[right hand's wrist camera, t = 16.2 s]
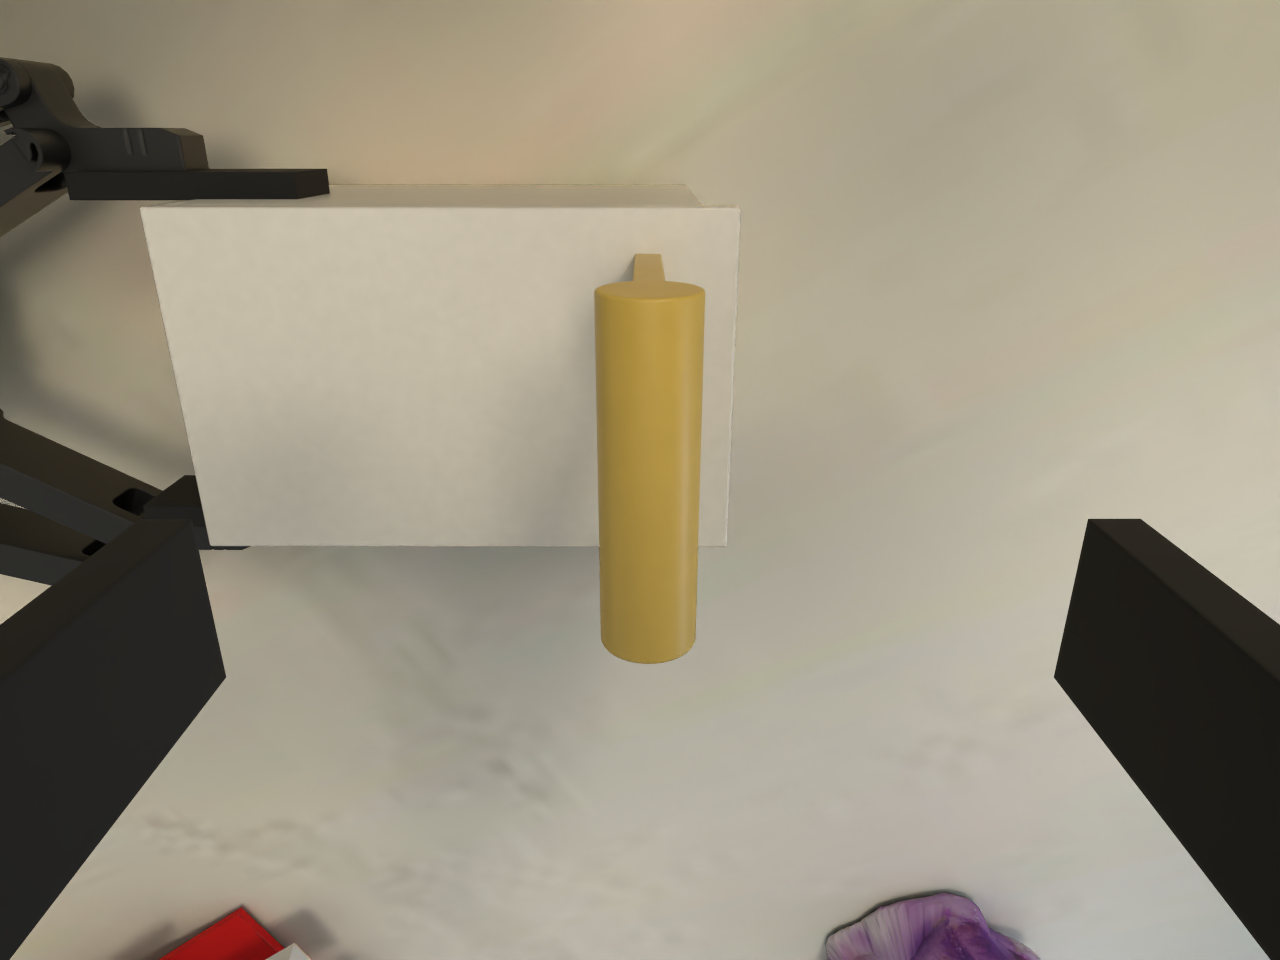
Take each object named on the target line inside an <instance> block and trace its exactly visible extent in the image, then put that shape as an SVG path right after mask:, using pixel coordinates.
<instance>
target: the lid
mask: <svg viewBox="0 0 1280 960" xmlns="http://www.w3.org/2000/svg"><path fill="white" fill-rule="evenodd" d="M140 214H141V219H142V223H143V228H144V233H145V238H146V242H147V247H148V252H149V257H150V261H151V266H152V271H153V276H154V281H155V285H156V290H157V295H158V300H159V304H160V309H161V314H162V319H163V323H164V328H165V333H166V338H167V342H168V347H169V352H170V357H171V361H172V366H173V371H174V376H175V380H176V385H177V390H178V395H179V399H180V404H181V409H182V414H183V418H184V423H185V428H186V433H187V437H188V442H189V447H190V452H191V456H192V461H193V466H194V471H195V475H196V480H197V485H198V490H199V495H200V499H201V504H202V509H203V514H204V518H205V523H206V528H207V533H208V537H209V542H210V545H211V546H489V547H599V563H600V613H601V640H602V643H603V645H604V647H605V648H606V649H607V650H608V651H609V652H610V653H611V654H613V655H614V656H616V657H618V658H621V659H623V660H626V661H630V662H635V663H643V664H655V663H663V662H668V661H671V660H674V659H677V658H679V657H681V656H683V655H684V654H686V653H687V652H688V651H689V650H690V649H691V648H692V646H693V644H694V642H695V638H696V603H697V568H698V547H726V545H727V526H728V502H729V479H730V455H731V432H732V408H733V385H734V361H735V337H736V314H737V290H738V267H739V243H740V220H741V209H740V208H739V207H738V206H736V205H152V206H144V207H141V208H140Z"/></svg>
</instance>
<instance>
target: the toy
mask: <svg viewBox="0 0 1280 960" xmlns="http://www.w3.org/2000/svg"><path fill="white" fill-rule="evenodd" d="M159 960H311V959H310V958H309V957H308V956H307V955H306V954H305V953H304V952H303V951H302V950H301V949H300V948H299V947H298V946H297V945H296V944H295V943H293V944H292V945H290V946H288V947H286V948H284V947H283V946H282V945H281V944H280V943H279V942H278V941H276V940H275V939H274V938H273V937H272V936H271V935H270V934H269V933H268V932H267V931H266V930H265V929H264V928H263V927H262V926H260V925H259V924H258V923H257V922H256V921H255V920H254V919H253V918H252V917H251V916H250V915H249V914H248V913H247V912H246V911H244V910H243V909H242V908H239V909H238V910H236V911H235V912H233V913H231V914H230V915H228V916H227V917H225V918H224V919H222V920H220V921H219V922H217V923H216V924H214V925H213V926H211V927H209V928H208V929H206V930H205V931H203V932H201V933H200V934H198V935H197V936H195V937H194V938H192V939H190V940H189V941H187V942H186V943H184V944H183V945H181V946H179V947H178V948H176V949H175V950H173V951H172V952H170V953H168V954H167V955H165V956H164V957H162V958H160V959H159Z"/></svg>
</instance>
